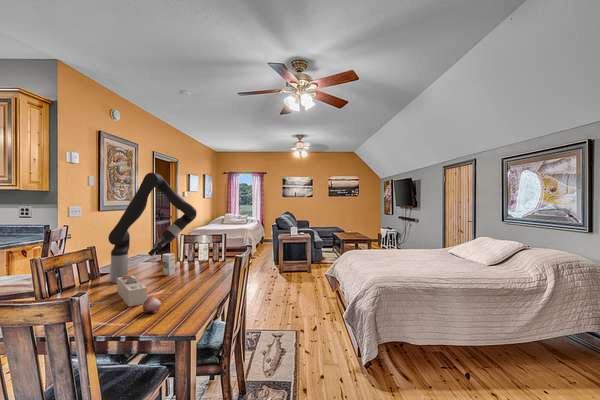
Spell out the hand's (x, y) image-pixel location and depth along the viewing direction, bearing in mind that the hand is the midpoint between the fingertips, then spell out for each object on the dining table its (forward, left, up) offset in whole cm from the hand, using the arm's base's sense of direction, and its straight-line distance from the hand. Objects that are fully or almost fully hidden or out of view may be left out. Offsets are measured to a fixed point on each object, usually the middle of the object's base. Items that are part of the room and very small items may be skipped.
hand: (149, 254), depth 177 cm
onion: (+32, -25, -20) cm, 45 cm away
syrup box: (-16, +28, -20) cm, 38 cm away
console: (+4, -15, -20) cm, 25 cm away
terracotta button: (-6, -10, -13) cm, 18 cm away
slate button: (+4, -15, -13) cm, 20 cm away
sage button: (+14, -19, -14) cm, 28 cm away
